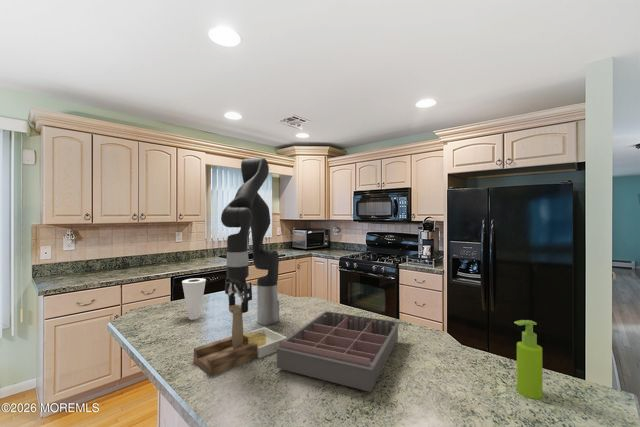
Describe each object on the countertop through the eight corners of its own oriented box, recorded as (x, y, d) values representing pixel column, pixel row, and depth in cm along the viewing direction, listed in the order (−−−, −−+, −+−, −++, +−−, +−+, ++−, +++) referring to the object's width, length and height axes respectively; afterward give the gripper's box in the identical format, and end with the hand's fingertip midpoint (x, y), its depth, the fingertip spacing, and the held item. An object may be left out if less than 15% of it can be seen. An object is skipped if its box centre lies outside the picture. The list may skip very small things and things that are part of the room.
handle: (238, 354, 103) (238, 310, 103) (226, 349, 107) (226, 307, 107) (249, 348, 107) (249, 306, 107) (236, 344, 111) (236, 303, 111)
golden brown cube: (259, 342, 116) (259, 332, 116) (265, 345, 113) (266, 334, 113) (250, 345, 113) (250, 334, 113) (256, 348, 110) (257, 337, 110)
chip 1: (250, 342, 113) (251, 331, 113) (257, 345, 110) (257, 334, 110) (241, 345, 110) (241, 334, 110) (247, 348, 107) (248, 337, 107)
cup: (210, 316, 147) (210, 279, 147) (190, 323, 138) (190, 284, 138) (196, 313, 152) (196, 277, 152) (177, 319, 143) (177, 281, 143)
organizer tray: (400, 342, 118) (400, 316, 118) (372, 399, 82) (372, 362, 82) (325, 329, 131) (325, 306, 131) (273, 372, 95) (273, 341, 95)
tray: (264, 335, 124) (264, 327, 124) (287, 346, 114) (287, 337, 114) (236, 345, 115) (236, 335, 115) (259, 358, 105) (259, 348, 105)
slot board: (238, 345, 114) (238, 333, 114) (257, 357, 105) (257, 344, 105) (193, 361, 102) (193, 348, 102) (210, 375, 93) (210, 361, 93)
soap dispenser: (508, 387, 87) (508, 317, 87) (531, 386, 87) (530, 317, 87) (523, 399, 81) (523, 325, 81) (548, 398, 82) (547, 324, 82)
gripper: (258, 265, 105) (258, 311, 105) (236, 260, 115) (237, 302, 115) (238, 268, 99) (239, 317, 99) (218, 262, 109) (218, 307, 109)
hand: (238, 309), depth 107 cm, fingers open, 8 cm apart
